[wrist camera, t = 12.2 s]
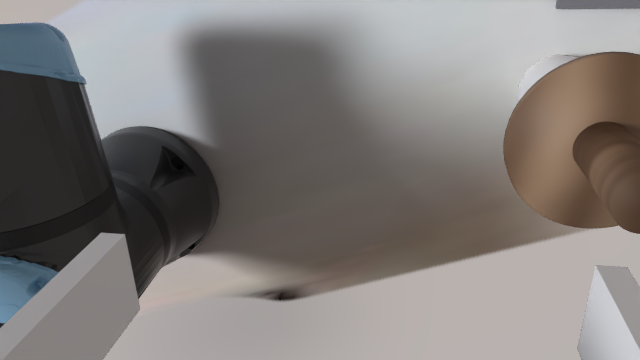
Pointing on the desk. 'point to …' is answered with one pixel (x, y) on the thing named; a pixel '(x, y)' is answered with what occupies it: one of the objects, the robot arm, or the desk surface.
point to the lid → (580, 143)
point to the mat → (596, 4)
